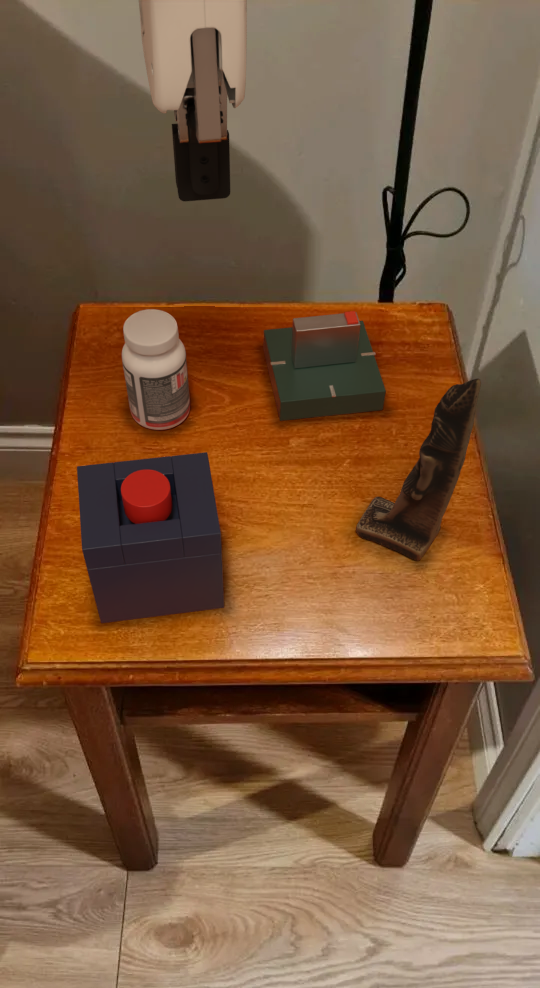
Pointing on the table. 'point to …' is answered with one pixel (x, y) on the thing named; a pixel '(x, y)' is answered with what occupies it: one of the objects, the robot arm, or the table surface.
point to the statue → (426, 479)
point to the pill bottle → (155, 370)
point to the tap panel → (322, 380)
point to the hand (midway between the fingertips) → (203, 191)
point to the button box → (151, 541)
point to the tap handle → (325, 339)
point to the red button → (146, 496)
